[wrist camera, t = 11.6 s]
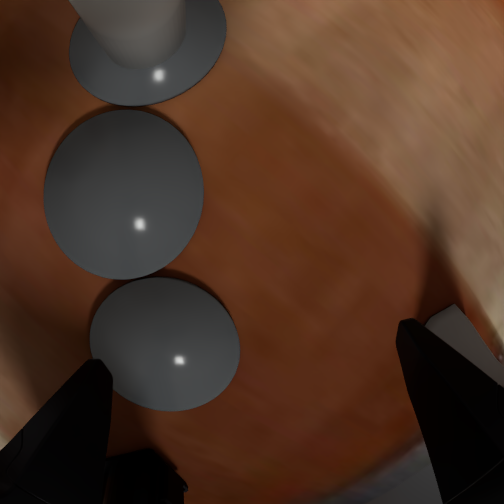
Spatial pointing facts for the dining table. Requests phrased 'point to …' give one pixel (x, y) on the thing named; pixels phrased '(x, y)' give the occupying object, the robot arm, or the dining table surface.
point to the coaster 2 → (165, 343)
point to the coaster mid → (123, 194)
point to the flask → (465, 341)
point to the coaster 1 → (159, 76)
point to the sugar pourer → (135, 29)
